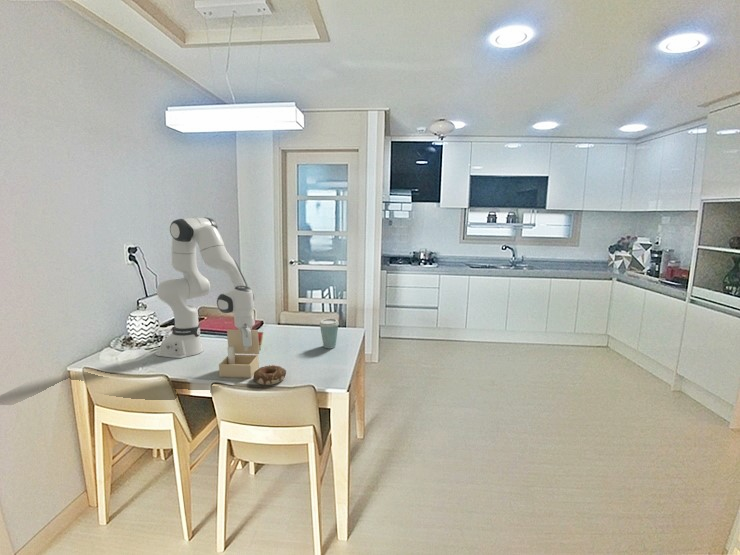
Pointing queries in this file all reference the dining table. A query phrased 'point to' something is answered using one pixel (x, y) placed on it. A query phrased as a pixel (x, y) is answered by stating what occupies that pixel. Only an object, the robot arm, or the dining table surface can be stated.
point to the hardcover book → (260, 339)
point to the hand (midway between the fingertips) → (246, 350)
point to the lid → (236, 341)
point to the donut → (269, 375)
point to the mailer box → (238, 365)
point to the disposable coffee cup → (329, 332)
